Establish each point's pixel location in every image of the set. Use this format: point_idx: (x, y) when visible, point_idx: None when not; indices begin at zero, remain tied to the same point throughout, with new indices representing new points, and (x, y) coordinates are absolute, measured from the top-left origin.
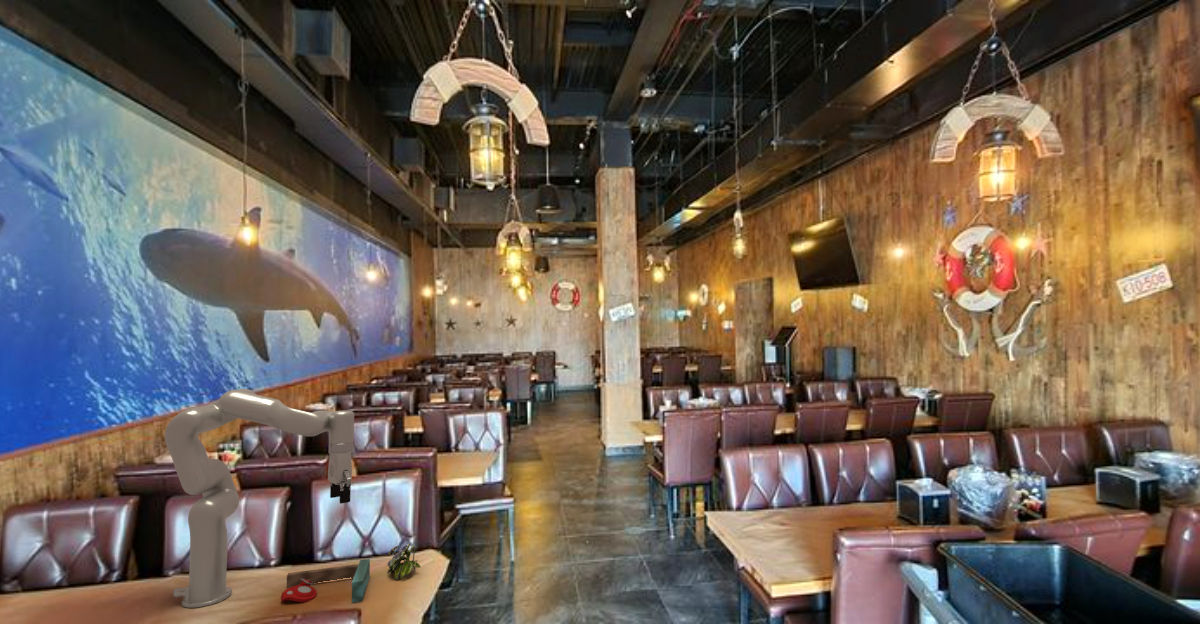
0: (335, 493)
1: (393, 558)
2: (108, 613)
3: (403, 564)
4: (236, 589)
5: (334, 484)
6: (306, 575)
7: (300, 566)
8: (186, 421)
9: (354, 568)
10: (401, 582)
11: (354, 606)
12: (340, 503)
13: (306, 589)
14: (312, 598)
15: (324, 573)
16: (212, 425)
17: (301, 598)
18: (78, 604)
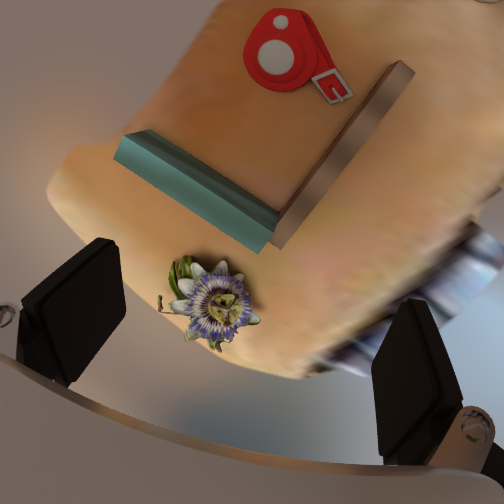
0: (394, 358)
1: (198, 287)
2: None
3: (178, 288)
4: (479, 13)
5: (421, 440)
6: (368, 101)
7: (497, 173)
8: None
9: (285, 211)
10: (171, 255)
11: (129, 127)
12: (102, 238)
13: (269, 60)
14: (248, 70)
15: (337, 142)
16: None
17: (247, 42)
18: None
